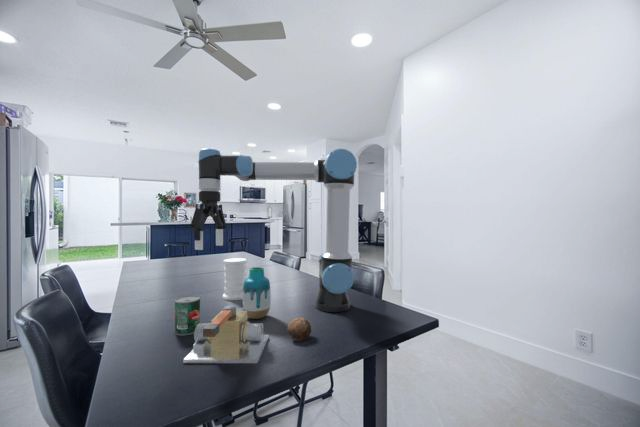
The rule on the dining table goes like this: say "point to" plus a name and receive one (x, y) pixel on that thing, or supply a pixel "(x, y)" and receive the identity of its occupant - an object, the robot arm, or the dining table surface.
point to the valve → (229, 342)
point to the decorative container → (234, 278)
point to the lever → (219, 321)
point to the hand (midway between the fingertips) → (209, 247)
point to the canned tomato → (187, 314)
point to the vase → (256, 294)
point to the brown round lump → (299, 329)
